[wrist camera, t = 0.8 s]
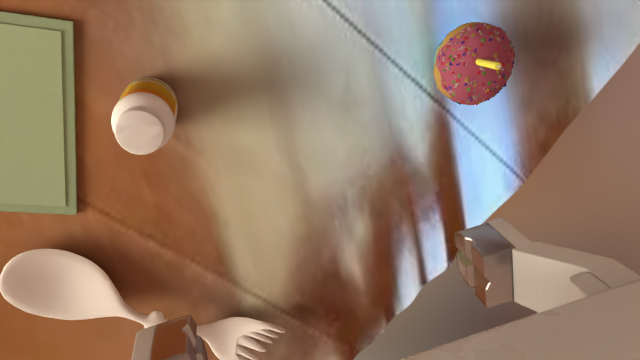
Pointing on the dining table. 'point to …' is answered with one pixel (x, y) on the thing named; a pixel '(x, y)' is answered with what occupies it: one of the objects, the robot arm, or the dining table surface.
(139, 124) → the supplement bottle
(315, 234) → the dining table surface
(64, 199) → the placemat
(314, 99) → the dining table surface
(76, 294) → the white spork utensil
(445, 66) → the cupcake
